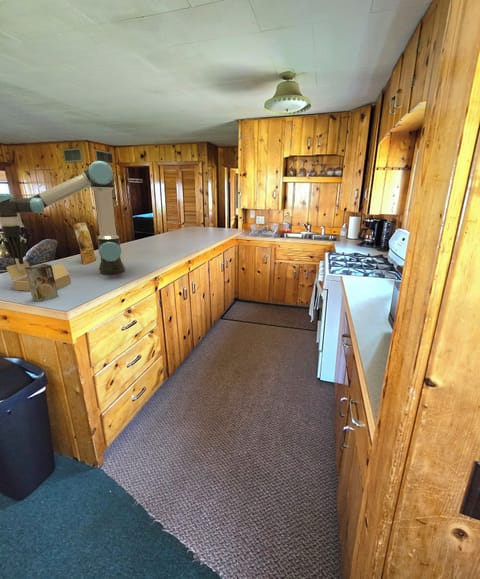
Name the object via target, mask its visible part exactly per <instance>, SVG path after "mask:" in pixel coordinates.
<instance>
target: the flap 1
mask: <svg viewBox="0 0 480 579" xmlns="http://www.w3.org/2000/svg"><path fill="white" fill-rule="evenodd" d="M23 262H24V264H23V266H24V270H20V271H19V270H18V269H17V264H15V263H14V264H12V265H8V266H6V267H5V268H6V271H7V272H8V274H9V275H10V276H9V277H10V278H11V280H12V281H14V280H17V279H18V278H19V279H20V278H23V277H26V276H27V274H26V270H25V267H30V264H29V261H27V260H25V261H23Z"/></svg>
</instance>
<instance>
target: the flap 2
mask: <svg viewBox="0 0 480 579" xmlns="http://www.w3.org/2000/svg"><path fill="white" fill-rule="evenodd" d="M52 270H53V275H54V279H55V280H57V279H59V278H61V277H64V276H66V275H68V274H69V275H70V273H69V271H68V270H67V269H66V267H65V266H64V265H63V263H62V262H60V263H57V264H55V265H52Z"/></svg>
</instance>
